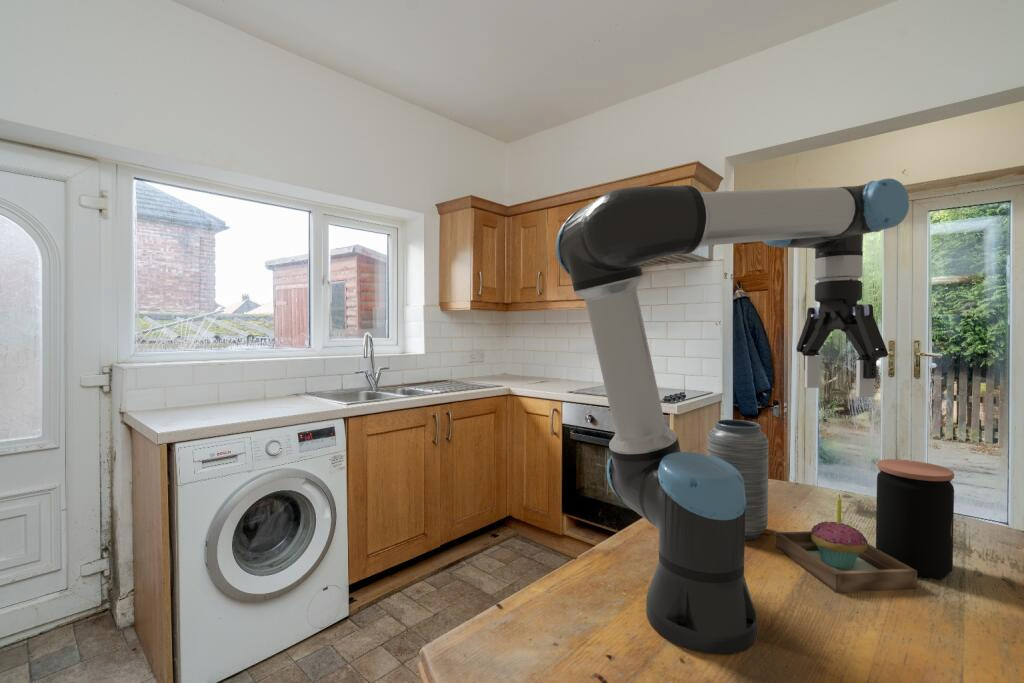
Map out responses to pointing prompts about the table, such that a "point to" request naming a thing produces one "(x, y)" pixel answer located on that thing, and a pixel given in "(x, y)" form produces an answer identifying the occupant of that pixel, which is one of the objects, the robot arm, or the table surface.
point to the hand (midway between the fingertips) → (836, 392)
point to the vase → (745, 466)
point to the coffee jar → (916, 515)
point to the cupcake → (838, 542)
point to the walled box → (866, 574)
